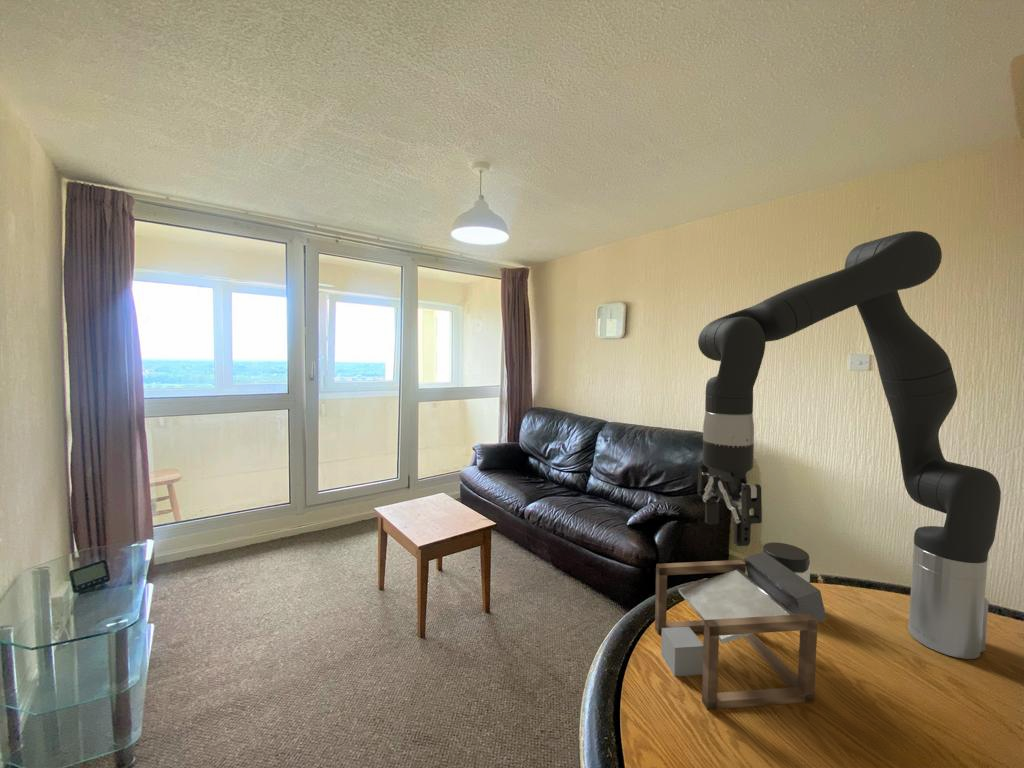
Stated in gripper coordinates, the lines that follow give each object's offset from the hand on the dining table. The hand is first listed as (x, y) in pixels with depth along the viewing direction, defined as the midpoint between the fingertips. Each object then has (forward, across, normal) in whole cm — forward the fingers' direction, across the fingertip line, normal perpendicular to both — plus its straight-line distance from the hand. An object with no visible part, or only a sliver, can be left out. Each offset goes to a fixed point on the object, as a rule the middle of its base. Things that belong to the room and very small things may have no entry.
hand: (725, 533), depth 71 cm
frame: (+23, 0, -1) cm, 23 cm away
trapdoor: (+14, 0, -4) cm, 15 cm away
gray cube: (+20, 0, +5) cm, 21 cm away
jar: (+23, +14, -22) cm, 35 cm away
